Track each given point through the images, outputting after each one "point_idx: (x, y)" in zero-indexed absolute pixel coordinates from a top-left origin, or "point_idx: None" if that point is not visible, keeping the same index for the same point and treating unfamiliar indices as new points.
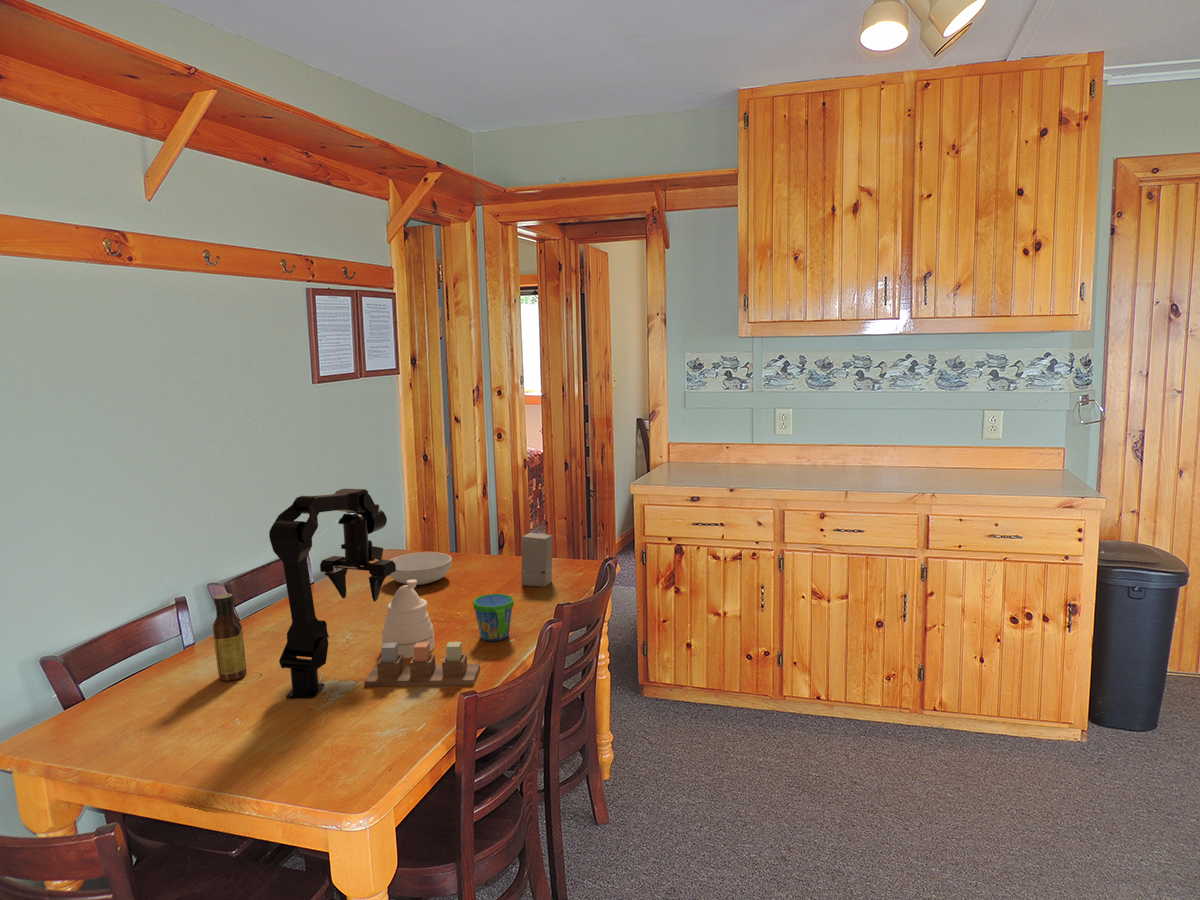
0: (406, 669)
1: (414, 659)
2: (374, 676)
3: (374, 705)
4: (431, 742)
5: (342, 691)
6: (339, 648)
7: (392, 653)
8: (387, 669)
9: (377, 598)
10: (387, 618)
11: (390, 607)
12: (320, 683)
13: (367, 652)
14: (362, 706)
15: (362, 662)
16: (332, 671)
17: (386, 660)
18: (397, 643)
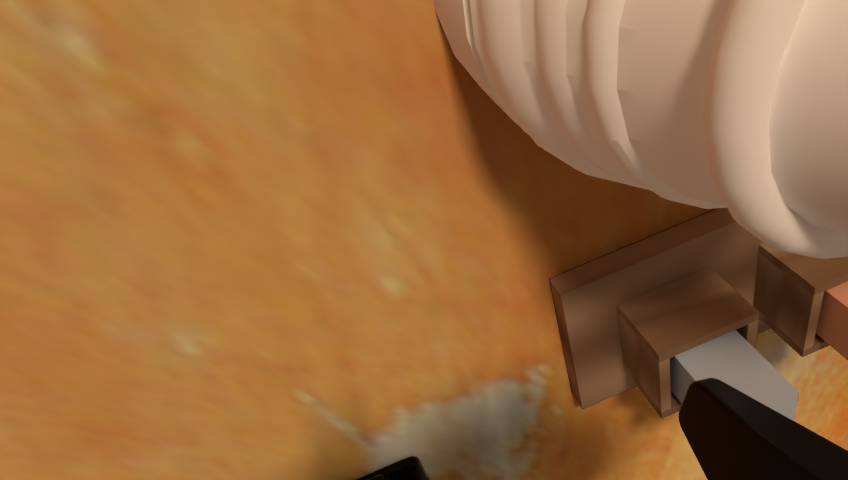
0: (720, 267)
1: (829, 343)
2: (605, 367)
3: (660, 446)
4: None
5: (509, 444)
6: (77, 122)
7: None
8: None
9: (737, 396)
10: (660, 176)
11: (791, 233)
12: (400, 470)
13: (356, 108)
14: (626, 464)
15: (424, 238)
16: (342, 368)
17: None
18: (795, 391)
